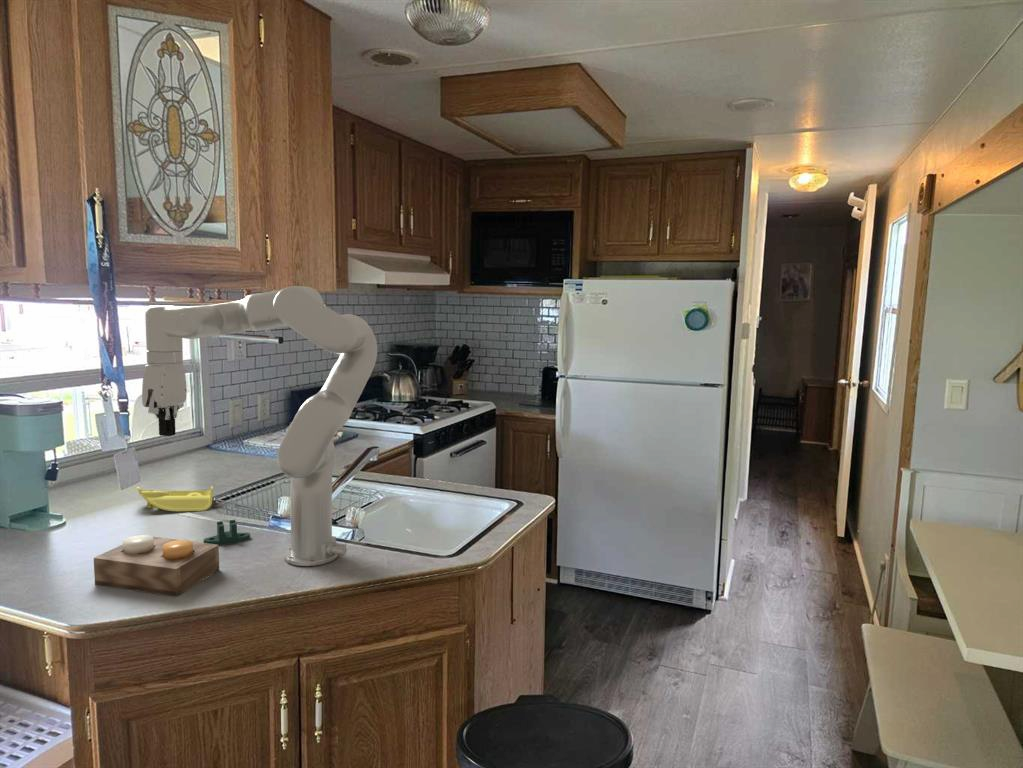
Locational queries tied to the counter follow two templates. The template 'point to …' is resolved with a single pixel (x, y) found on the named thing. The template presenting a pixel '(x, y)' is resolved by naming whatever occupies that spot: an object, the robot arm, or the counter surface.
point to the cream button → (138, 544)
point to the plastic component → (178, 499)
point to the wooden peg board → (156, 568)
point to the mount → (227, 535)
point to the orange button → (177, 549)
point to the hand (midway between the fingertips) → (167, 435)
